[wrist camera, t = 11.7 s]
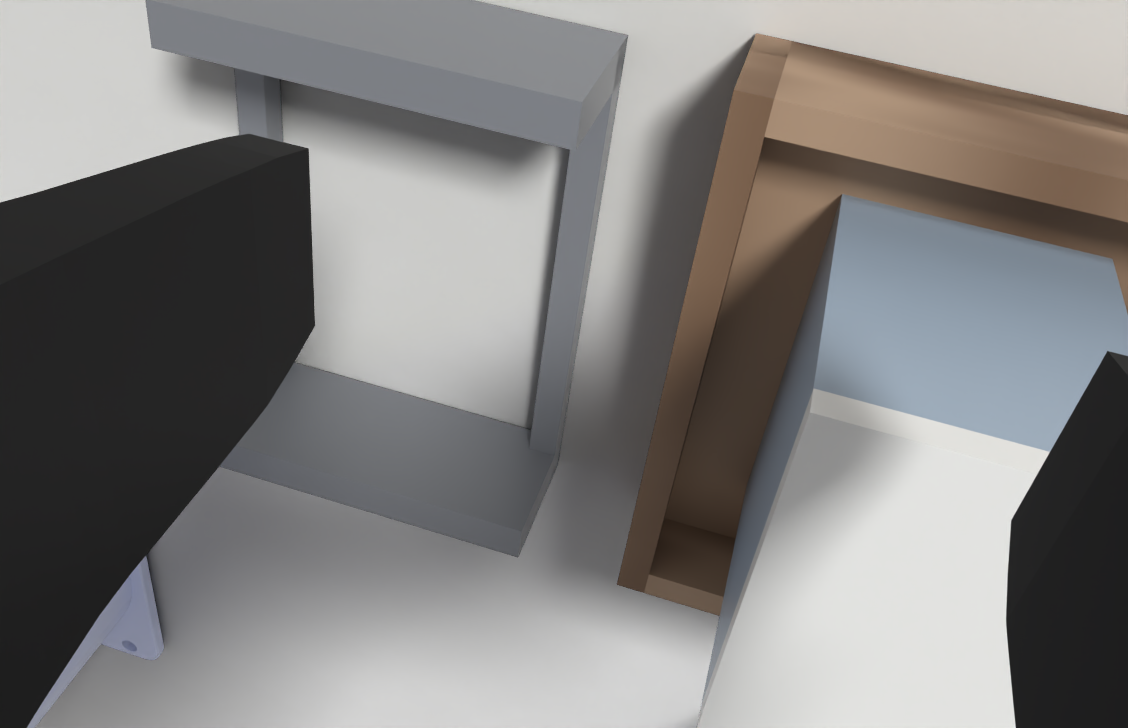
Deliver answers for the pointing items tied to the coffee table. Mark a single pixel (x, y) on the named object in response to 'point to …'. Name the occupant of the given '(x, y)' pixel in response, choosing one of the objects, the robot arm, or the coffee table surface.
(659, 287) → the coffee table surface
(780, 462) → the light grey block
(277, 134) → the bay
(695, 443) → the tray
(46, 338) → the robot arm
